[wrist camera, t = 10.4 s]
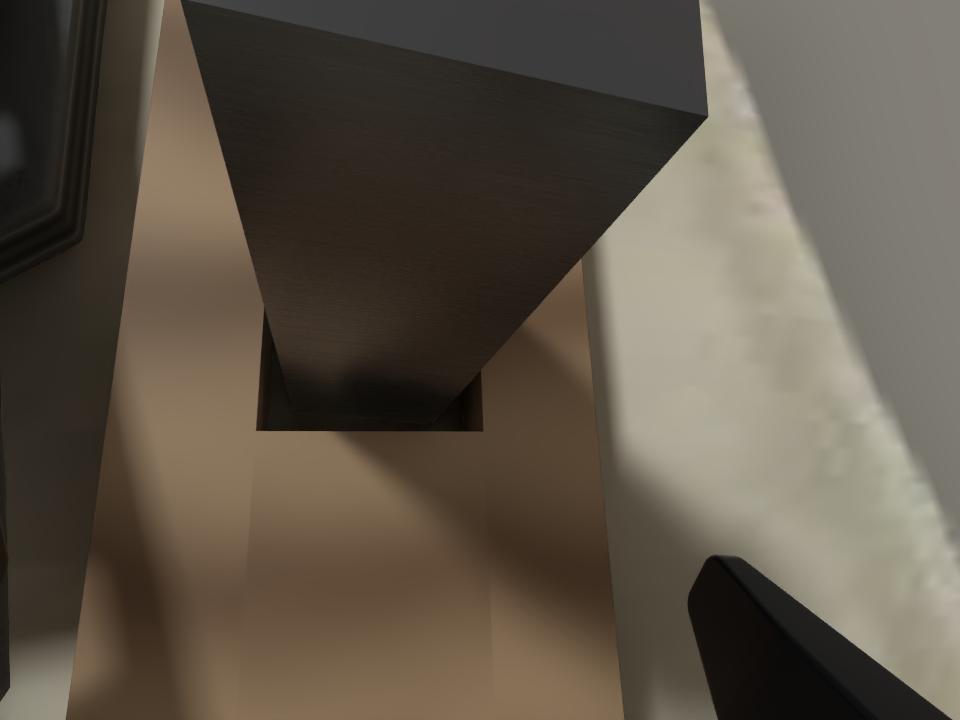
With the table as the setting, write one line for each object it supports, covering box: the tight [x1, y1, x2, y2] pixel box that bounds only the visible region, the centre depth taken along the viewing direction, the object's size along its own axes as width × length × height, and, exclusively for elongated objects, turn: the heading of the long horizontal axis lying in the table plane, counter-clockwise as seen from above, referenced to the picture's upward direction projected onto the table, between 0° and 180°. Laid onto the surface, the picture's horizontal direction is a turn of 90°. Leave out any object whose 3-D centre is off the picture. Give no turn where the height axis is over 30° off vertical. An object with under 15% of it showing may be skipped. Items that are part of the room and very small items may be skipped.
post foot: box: [66, 0, 624, 720], centre depth 17 cm, size 22×12×2 cm, turn 2°
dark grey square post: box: [180, 0, 708, 425], centre depth 12 cm, size 4×4×14 cm
